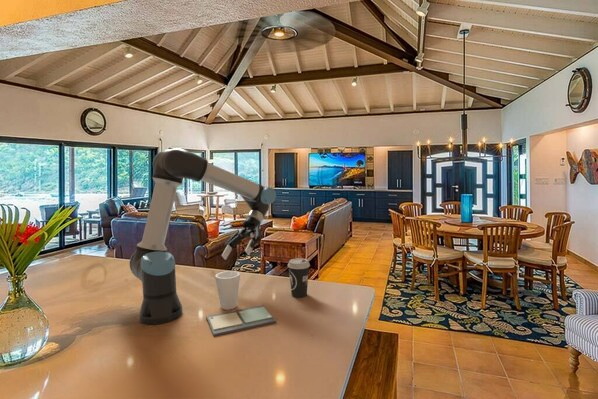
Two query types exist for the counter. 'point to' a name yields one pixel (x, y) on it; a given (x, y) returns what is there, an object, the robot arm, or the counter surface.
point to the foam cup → (228, 288)
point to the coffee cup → (298, 277)
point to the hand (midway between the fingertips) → (235, 255)
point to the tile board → (239, 320)
